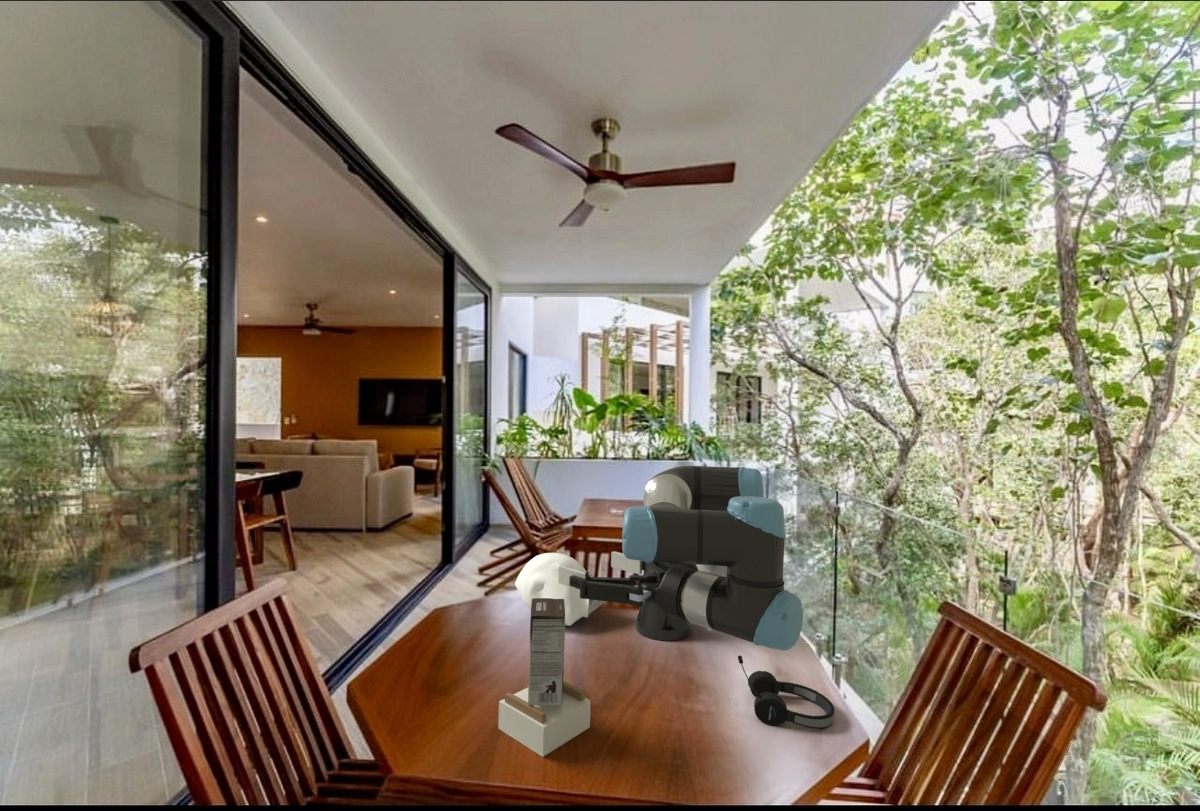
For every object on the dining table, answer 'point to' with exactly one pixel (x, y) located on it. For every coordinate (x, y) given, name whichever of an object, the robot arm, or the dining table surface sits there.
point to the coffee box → (546, 651)
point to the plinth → (544, 719)
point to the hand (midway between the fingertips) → (587, 566)
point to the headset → (775, 709)
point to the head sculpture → (553, 585)
